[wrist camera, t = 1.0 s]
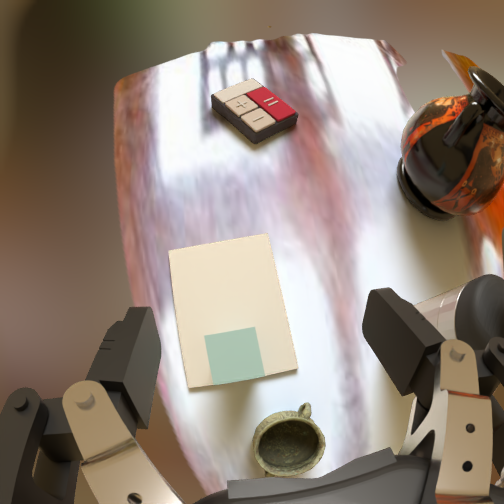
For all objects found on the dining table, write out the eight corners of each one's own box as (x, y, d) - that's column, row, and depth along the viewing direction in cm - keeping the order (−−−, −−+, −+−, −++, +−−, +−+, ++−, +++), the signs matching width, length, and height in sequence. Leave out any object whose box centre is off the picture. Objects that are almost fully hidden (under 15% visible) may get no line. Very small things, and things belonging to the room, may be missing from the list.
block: (257, 367, 35) (265, 376, 22) (225, 373, 34) (213, 385, 21) (251, 336, 36) (254, 326, 23) (219, 342, 36) (203, 335, 23)
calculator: (255, 132, 46) (209, 92, 49) (254, 147, 50) (211, 106, 53) (300, 111, 48) (252, 75, 52) (296, 126, 52) (251, 89, 56)
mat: (297, 367, 35) (298, 368, 35) (189, 387, 34) (188, 387, 33) (267, 235, 42) (267, 233, 42) (169, 252, 41) (168, 250, 40)
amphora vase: (425, 140, 52) (478, 55, 26) (477, 215, 46) (555, 143, 20) (363, 158, 49) (420, 39, 23) (425, 252, 42) (535, 162, 16)
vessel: (274, 387, 35) (279, 393, 29) (330, 408, 33) (345, 417, 27) (236, 456, 31) (234, 473, 25) (292, 476, 29) (299, 494, 24)
